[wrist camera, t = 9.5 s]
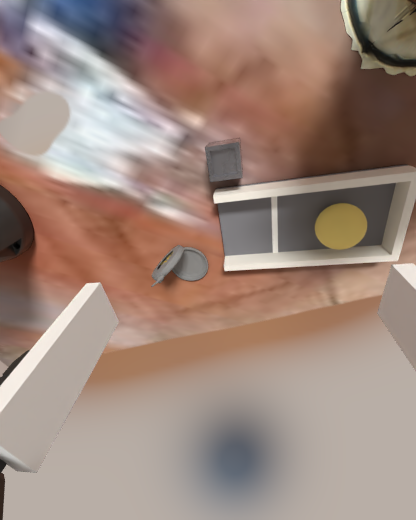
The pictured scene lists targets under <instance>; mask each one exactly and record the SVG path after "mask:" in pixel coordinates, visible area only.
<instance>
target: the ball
mask: <svg viewBox="0 0 416 520" xmlns="http://www.w3.org/2000/svg"><path fill="white" fill-rule="evenodd" d="M366 230H367V219H366V217H365V215H364V213H363V212H362V211H361V210H360V209H359V208H358V207H356V206H354V205H351V204H347V203H338V204H334V205H331V206H329V207H327V208H326V209H324V210H323V211H322V212H321V213H320V214H319V216H318V218H317V220H316V223H315V233H316V236H317V238H318V239H319V241H320V242H321V243H322V244H323V245H325V246H327V247H329V248H331V249H337V250H342V249H347V248H350V247H353V246H355V245H356V244H358V243H359V242H360V241H361V240H362V238H363V237H364V235H365V233H366Z"/></svg>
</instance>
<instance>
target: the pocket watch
mask: <svg viewBox="0 0 416 520" xmlns="http://www.w3.org/2000/svg"><path fill="white" fill-rule="evenodd" d="M171 270H172V271H173V272H174V273H175V274H176V275H177V276H178V277H179V278H181V279H184V280H188V281H194V280H199V279H201V278H202V277H203V276H204V275H205V274H206V273H207V270H208V261H207V259H206V257H205V255H204V254H203V253H202V252H200V251H199V250H197V249H195V248H191V247H182V246H180V245H177V246H176V247H174V248H173V249H172V250H171V251H170V252H169V253H168V254H167V255H166V256H165V257H164V258H163V259H162V260H161V261H160V263H159V264H158V265H157V267H156V268H155V270H154V271H153V274H152V277H153V279H154V280H156V281H157V282H155V283H154V284H153V285H152V286H151V287H153V286H154V285H155V284H157V283H161V282H162V281H163V280H164V277H165V276H166V275H167V274H168V273H169V272H170V271H171Z"/></svg>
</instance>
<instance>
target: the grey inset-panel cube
mask: <svg viewBox="0 0 416 520" xmlns="http://www.w3.org/2000/svg"><path fill="white" fill-rule="evenodd" d="M205 152H206V158H207V165H208V171H209V177H210V182H214V181H222V180H230V179H237V178H242V176H243V167H242V155H241V143H240V138H236V139H230V140H224V141H218V142H212V143H209V144H208V145H207V146H206V147H205Z"/></svg>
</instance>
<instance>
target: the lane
mask: <svg viewBox="0 0 416 520" xmlns="http://www.w3.org/2000/svg"><path fill="white" fill-rule="evenodd" d="M213 199H214V204H215V203H217V204H218V211H219V217H220V224H221V231H222V238H223V245H224V252H225V261H224V270H225V271H234V270H251V269H268V268H285V267H302V266H319V265H336V264H354V263H371V262H388V261H398V259H399V255H400V252H401V248H402V245H403V241H404V238H405V234H406V231H407V227H408V224H409V221H410V217H411V214H412V210H413V207H414V203H415V200H416V168H415V167H412V166H410V165H407V164H405V165H397V166H390V167H382V168H374V169H366V170H358V171H350V172H342V173H334V174H327V175H319V176H311V177H303V178H295V179H287V180H279V181H271V182H263V183H256V184H248V185H240V186H232V187H224V188H216V190H215V192H214V195H213ZM338 203H347V204H351V205H354V206H356V207H358V208H359V209H360V210H361V211H362V212H363V213H364V215H365V217H366V219H367V230H366V233H365V235H364V237H363V238H362V240H361V241H360V242H359V243H358V244H356V245H355V246H353V247H350V248H347V249H342V250H337V249H331V248H329V247H327V246H325V245H323V244H322V243H321V242H320V241H319V239H318V238H317V236H316V233H315V223H316V220H317V218H318V216H319V214H320V213H321V212H322V211H323V210H324V209H326V208H327V207H329V206H331V205H334V204H338Z"/></svg>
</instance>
